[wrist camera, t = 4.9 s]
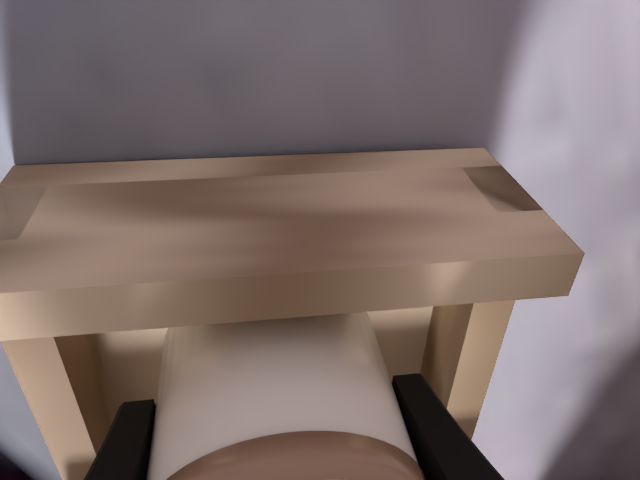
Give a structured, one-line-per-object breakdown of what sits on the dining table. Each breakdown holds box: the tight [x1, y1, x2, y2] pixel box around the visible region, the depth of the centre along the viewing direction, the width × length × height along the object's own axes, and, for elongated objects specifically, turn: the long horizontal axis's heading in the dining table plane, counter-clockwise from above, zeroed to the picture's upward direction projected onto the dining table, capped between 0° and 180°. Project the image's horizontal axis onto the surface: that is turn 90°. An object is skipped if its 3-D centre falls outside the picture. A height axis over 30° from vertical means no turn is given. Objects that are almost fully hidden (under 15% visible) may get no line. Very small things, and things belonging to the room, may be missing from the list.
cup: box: [147, 312, 426, 480], centre depth 11 cm, size 5×5×6 cm
